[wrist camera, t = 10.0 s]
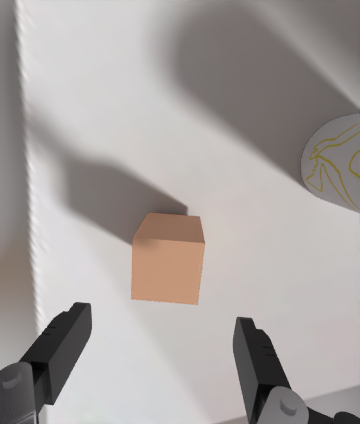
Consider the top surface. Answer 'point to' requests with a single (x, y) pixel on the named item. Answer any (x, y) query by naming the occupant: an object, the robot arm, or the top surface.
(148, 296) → the tan cardboard box
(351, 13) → the top surface
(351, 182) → the white round cylinder
